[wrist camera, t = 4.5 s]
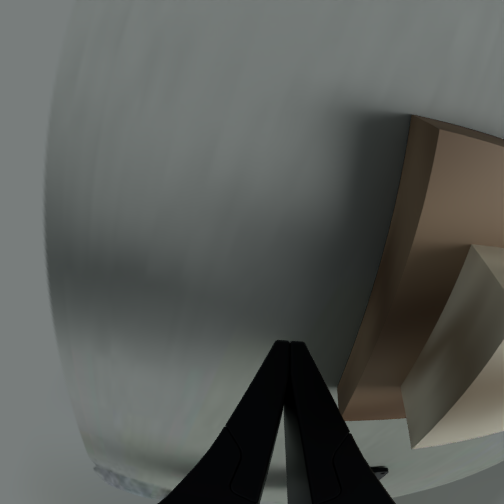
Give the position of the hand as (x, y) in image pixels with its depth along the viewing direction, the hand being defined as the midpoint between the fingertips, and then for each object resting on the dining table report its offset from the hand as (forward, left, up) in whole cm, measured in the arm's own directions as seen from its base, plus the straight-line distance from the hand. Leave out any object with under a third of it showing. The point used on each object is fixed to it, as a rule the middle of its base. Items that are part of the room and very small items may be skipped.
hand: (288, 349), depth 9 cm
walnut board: (0, -10, -3) cm, 10 cm away
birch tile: (0, -9, -1) cm, 9 cm away
